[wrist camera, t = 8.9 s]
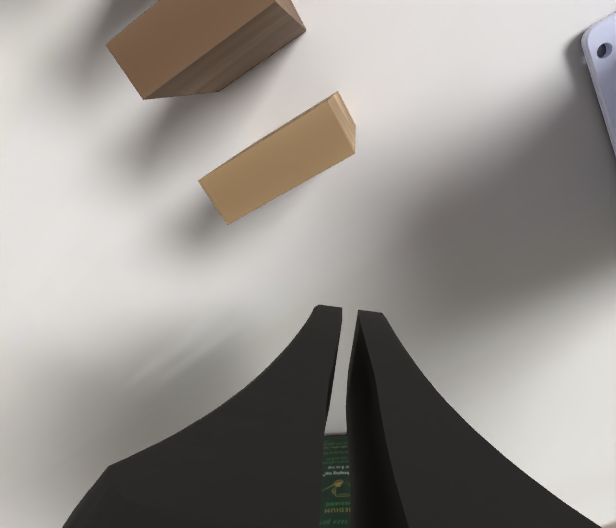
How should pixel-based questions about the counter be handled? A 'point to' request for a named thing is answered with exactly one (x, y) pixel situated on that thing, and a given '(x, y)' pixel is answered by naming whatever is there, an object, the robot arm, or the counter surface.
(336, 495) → the coffee jar
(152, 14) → the tile
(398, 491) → the robot arm
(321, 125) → the tile
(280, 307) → the counter surface
